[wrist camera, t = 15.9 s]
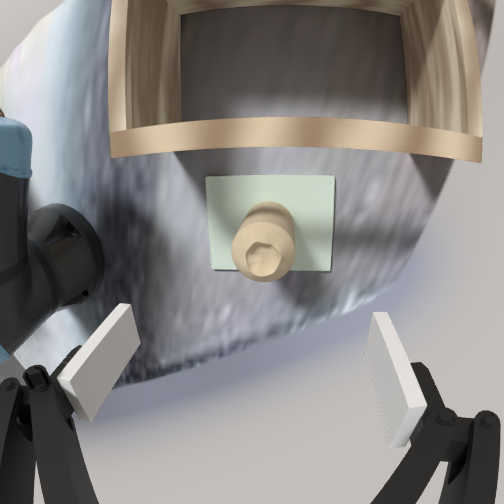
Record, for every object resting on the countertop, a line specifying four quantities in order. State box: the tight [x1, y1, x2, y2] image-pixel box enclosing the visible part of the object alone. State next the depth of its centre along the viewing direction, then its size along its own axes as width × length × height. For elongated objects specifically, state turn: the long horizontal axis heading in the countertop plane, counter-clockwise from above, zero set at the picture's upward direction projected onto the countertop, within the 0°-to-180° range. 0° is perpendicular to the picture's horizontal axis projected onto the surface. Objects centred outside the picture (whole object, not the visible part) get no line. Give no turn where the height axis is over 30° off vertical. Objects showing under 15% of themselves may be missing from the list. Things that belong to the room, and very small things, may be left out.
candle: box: [231, 201, 296, 282], centre depth 30 cm, size 6×6×10 cm
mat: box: [205, 175, 335, 271], centre depth 35 cm, size 14×11×1 cm
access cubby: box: [108, 0, 482, 163], centre depth 22 cm, size 28×18×13 cm, turn 91°
